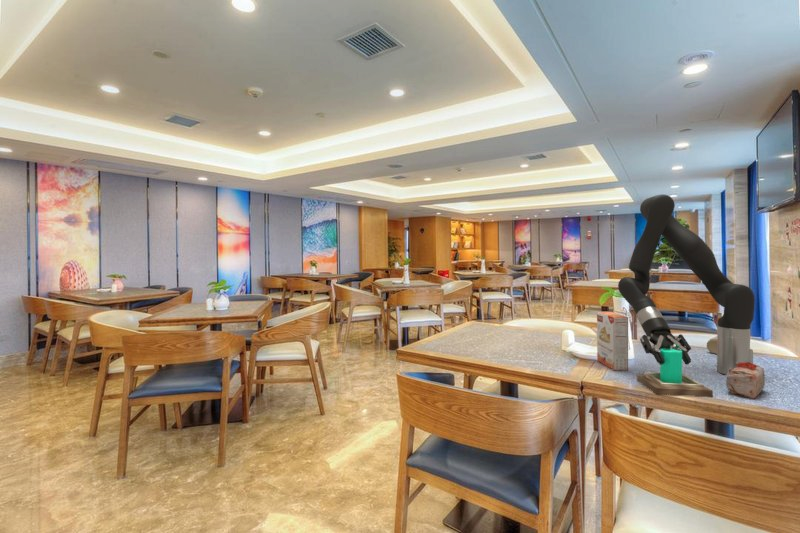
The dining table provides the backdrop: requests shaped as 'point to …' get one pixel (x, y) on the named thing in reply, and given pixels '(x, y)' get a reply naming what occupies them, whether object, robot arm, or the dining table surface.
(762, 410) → the dining table surface
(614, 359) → the cracker box
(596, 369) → the dining table surface
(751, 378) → the food item
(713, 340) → the beige rounded cylinder
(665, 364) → the candle
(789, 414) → the dining table surface
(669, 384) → the walnut base board
